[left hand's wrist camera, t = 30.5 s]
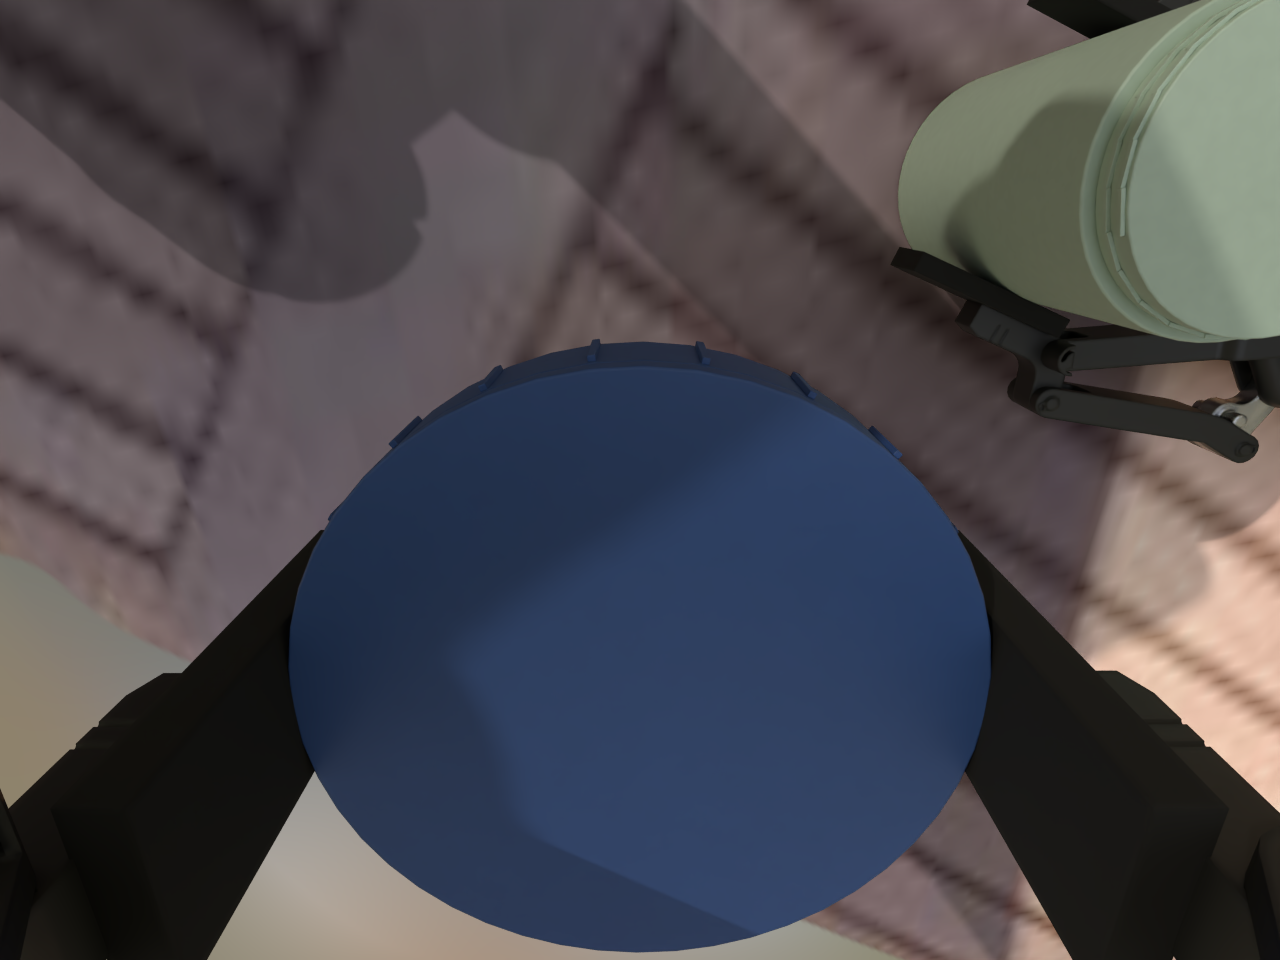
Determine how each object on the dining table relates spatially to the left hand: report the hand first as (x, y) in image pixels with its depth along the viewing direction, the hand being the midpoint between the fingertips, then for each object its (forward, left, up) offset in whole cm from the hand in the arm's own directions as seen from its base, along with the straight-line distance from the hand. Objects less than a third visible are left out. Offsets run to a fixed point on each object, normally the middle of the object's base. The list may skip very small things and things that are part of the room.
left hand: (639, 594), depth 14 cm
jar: (+14, +12, -24) cm, 30 cm away
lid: (0, 0, +3) cm, 3 cm away
